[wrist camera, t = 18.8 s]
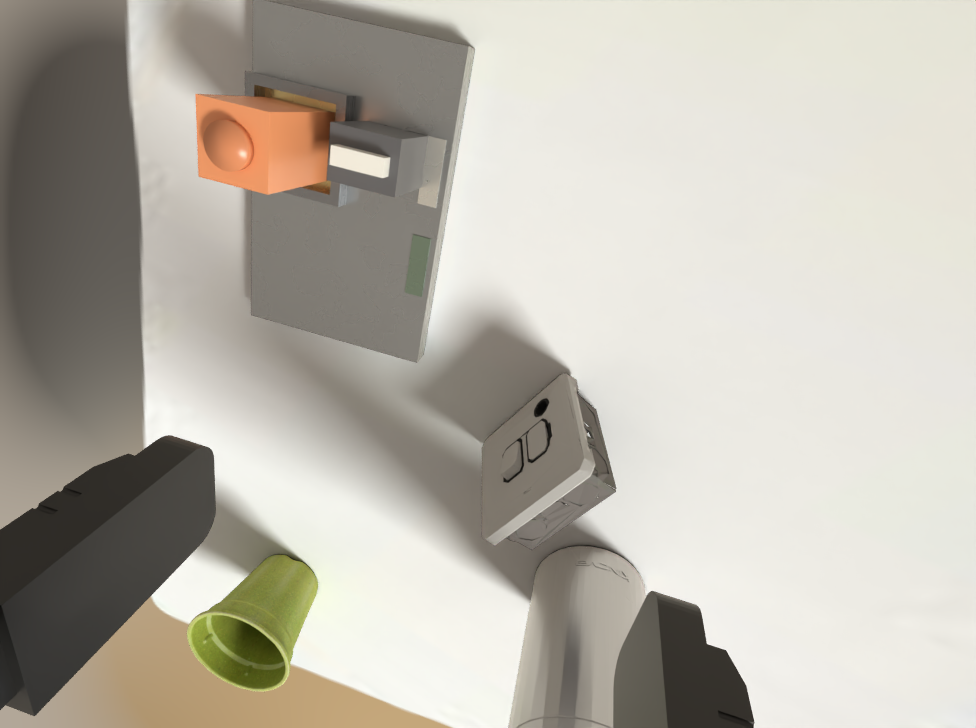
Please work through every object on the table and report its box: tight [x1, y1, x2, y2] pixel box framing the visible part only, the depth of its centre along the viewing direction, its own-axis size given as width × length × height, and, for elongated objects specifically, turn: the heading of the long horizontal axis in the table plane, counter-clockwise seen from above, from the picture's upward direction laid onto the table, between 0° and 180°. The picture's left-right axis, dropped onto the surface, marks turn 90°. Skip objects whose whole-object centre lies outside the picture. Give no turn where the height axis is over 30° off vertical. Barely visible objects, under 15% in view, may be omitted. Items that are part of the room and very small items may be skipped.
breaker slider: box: [327, 121, 429, 198], centre depth 31 cm, size 3×4×5 cm
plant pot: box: [187, 555, 318, 691], centre depth 50 cm, size 9×9×9 cm
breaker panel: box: [245, 0, 475, 363], centre depth 35 cm, size 20×13×3 cm, turn 169°
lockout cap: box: [196, 94, 335, 195], centre depth 31 cm, size 4×4×8 cm
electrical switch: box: [481, 373, 616, 550], centre depth 37 cm, size 9×5×9 cm, turn 139°
